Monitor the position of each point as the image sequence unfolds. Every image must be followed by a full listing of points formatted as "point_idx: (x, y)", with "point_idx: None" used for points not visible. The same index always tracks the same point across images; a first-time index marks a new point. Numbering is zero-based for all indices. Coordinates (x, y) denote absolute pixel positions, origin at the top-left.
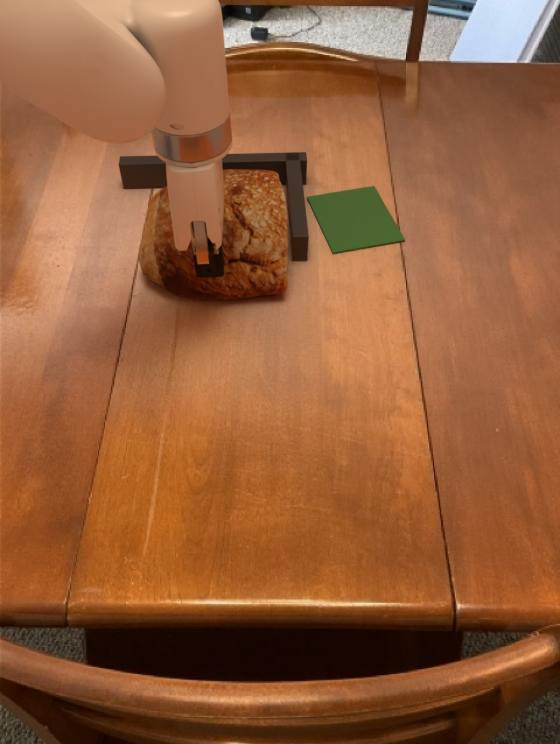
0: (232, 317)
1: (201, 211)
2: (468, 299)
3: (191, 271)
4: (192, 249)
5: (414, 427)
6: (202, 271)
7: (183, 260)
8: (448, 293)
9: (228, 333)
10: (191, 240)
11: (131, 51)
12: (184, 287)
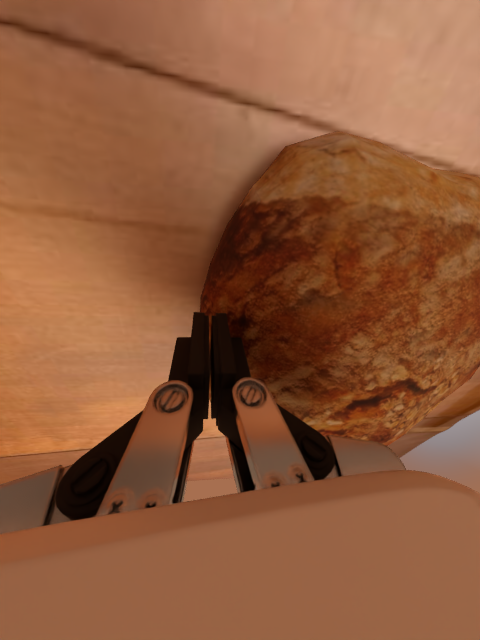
0: (176, 317)
1: None
2: (200, 459)
3: (227, 292)
4: (198, 374)
5: (43, 448)
6: (176, 345)
7: (252, 284)
8: (207, 452)
9: (141, 311)
10: (99, 508)
11: None
12: (214, 260)
